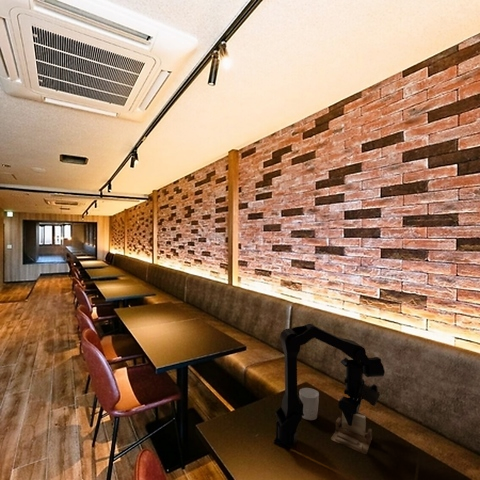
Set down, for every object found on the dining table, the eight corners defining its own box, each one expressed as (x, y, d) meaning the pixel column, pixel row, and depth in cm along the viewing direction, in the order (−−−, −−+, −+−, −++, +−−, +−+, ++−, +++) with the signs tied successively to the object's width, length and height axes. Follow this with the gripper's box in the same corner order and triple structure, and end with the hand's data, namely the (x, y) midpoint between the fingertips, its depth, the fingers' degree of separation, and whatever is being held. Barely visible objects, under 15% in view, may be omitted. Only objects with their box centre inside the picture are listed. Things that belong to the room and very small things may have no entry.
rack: (330, 441, 103) (330, 429, 103) (338, 427, 111) (339, 416, 111) (366, 456, 96) (366, 443, 96) (372, 440, 104) (372, 428, 104)
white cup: (304, 409, 123) (304, 385, 123) (321, 416, 118) (322, 392, 118) (295, 417, 117) (295, 393, 117) (313, 425, 112) (313, 400, 112)
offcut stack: (334, 440, 103) (335, 435, 103) (337, 436, 105) (337, 431, 105) (361, 452, 97) (361, 446, 97) (363, 447, 99) (363, 441, 99)
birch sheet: (341, 431, 108) (342, 410, 108) (342, 429, 109) (343, 408, 109) (364, 440, 103) (364, 418, 103) (365, 438, 104) (365, 416, 104)
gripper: (372, 394, 94) (371, 442, 94) (382, 374, 109) (381, 415, 109) (338, 384, 100) (337, 428, 100) (352, 366, 115) (351, 404, 115)
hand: (353, 419), depth 106 cm, fingers open, 9 cm apart
